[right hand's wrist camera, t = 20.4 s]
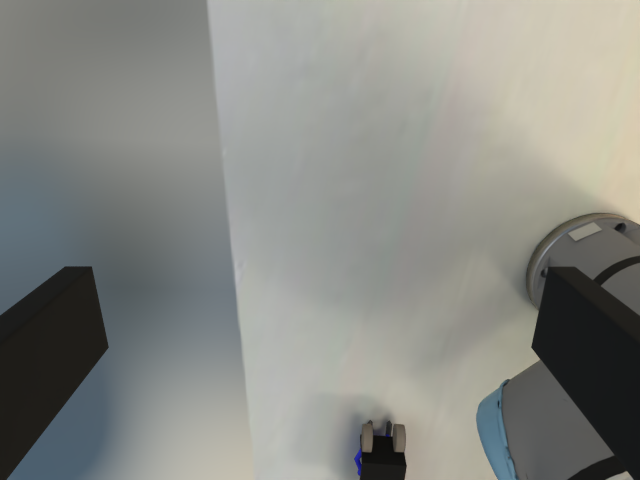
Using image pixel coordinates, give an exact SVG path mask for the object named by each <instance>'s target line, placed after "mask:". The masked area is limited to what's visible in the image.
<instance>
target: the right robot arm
mask: <svg viewBox="0 0 640 480" xmlns="http://www.w3.org/2000/svg"><path fill="white" fill-rule="evenodd" d="M526 285H527V291H528V294H529V297H530V299H531V301H532V303H533V304H534V305H535V307H536V308H537V309H538V310H539V313H538V318H537V323H536V328H535V332H534V337H533V342H532V347H531V348H532V349H533V350H534V352H535V353H536V354H537V355H538V357H539V358H540V359H541V360H539V361H538V362H536V363H535V364H533V365H532V366H530V367H529V368H527V369H526V370H524V371H523V372H521V373H520V374H518V375H517V376H515V377H514V378H512V379H507V380H505V381H504V382H503V383H502V384H501V386H500V387H499V388H498V389H497V390H495V391H494V392H492V393H491V394H490V395H488V396H487V397H486V398H484V399H483V400H482V401H481V403H480V404H479V407H478V411H477V415H476V422H477V428H478V433H479V436H480V440H481V443H482V446H483V448H484V451H485V453H486V456H487V458H488V460H489V463H490V465H491V467H492V469H493V471H494V473H495V475H496V477H497V479H498V480H640V225H638V224H637V223H635V222H632V221H630V220H628V219H626V218H624V217H621V216H618V215H613V214H605V213H599V214H590V215H585V216H581V217H578V218H575V219H573V220H570V221H568V222H566V223H564V224H563V225H561V226H559V227H558V228H557V229H555V230H554V231H553V232H551V233H550V234H549V235H548V236H547V237H546V238H545V239H544V240H543V241H542V242H541V243H540V245H539V246H538V247H537V249H536V251H535V252H534V254H533V256H532V258H531V260H530V263H529V266H528V269H527V276H526ZM107 349H108V342H107V337H106V332H105V328H104V323H103V318H102V313H101V309H100V304H99V299H98V294H97V289H96V285H95V280H94V275H93V270H92V267H64V268H63V269H61V270H60V271H59V272H57V273H56V274H55V275H53V276H52V277H51V278H49V279H48V280H47V281H45V282H44V283H43V284H41V285H40V286H39V287H37V288H36V289H35V290H33V291H32V292H31V293H29V294H28V295H27V296H26V297H24V298H23V299H22V300H20V301H19V302H18V303H16V304H15V305H14V306H12V307H11V308H10V309H8V310H7V311H6V312H4V313H3V314H2V315H0V480H7V478H8V477H9V476H10V474H11V473H12V472H13V470H14V469H15V468H16V467H17V465H18V464H19V463H20V461H21V460H22V459H23V458H24V456H25V455H26V454H27V452H28V451H29V450H30V449H31V447H32V446H33V445H34V443H35V442H36V441H37V439H38V438H39V437H40V436H41V434H42V433H43V432H44V430H45V429H46V428H47V427H48V425H49V424H50V423H51V421H52V420H53V419H54V417H55V416H56V415H57V414H58V412H59V411H60V410H61V408H62V407H63V406H64V405H65V403H66V402H67V401H68V399H69V398H70V397H71V396H72V394H73V393H74V392H75V390H76V389H77V388H78V386H79V385H80V384H81V383H82V381H83V380H84V379H85V377H86V376H87V375H88V374H89V372H90V371H91V370H92V368H93V367H94V366H95V364H96V363H97V362H98V360H99V359H100V358H101V357H102V355H103V354H104V353H105V352H106V350H107Z"/></svg>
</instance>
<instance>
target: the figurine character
mask: <svg viewBox="0 0 640 480" xmlns="http://www.w3.org/2000/svg"><path fill="white" fill-rule="evenodd" d="M391 430H392V424H391V422H390V420H389V421H388V422H387V425H386V436H376V435H373V429H372V421H371V420H370V421H369V422H368V423H367V424H363V426H362V434H361V435H360V443H361V448H360V450H359V452H358V453H357V455H356V457H355V458H354V460H355V462H356V465H357V467H358V469H359V470H358V475H360V479H359V480H405V473H406V466H407V465H406V461H405V455H404V451H405V444H406V433H405V426H404V425H401V424H394V428H393V437H391ZM360 458H361V459H362V464H361V462H360V460H359V459H360Z"/></svg>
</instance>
